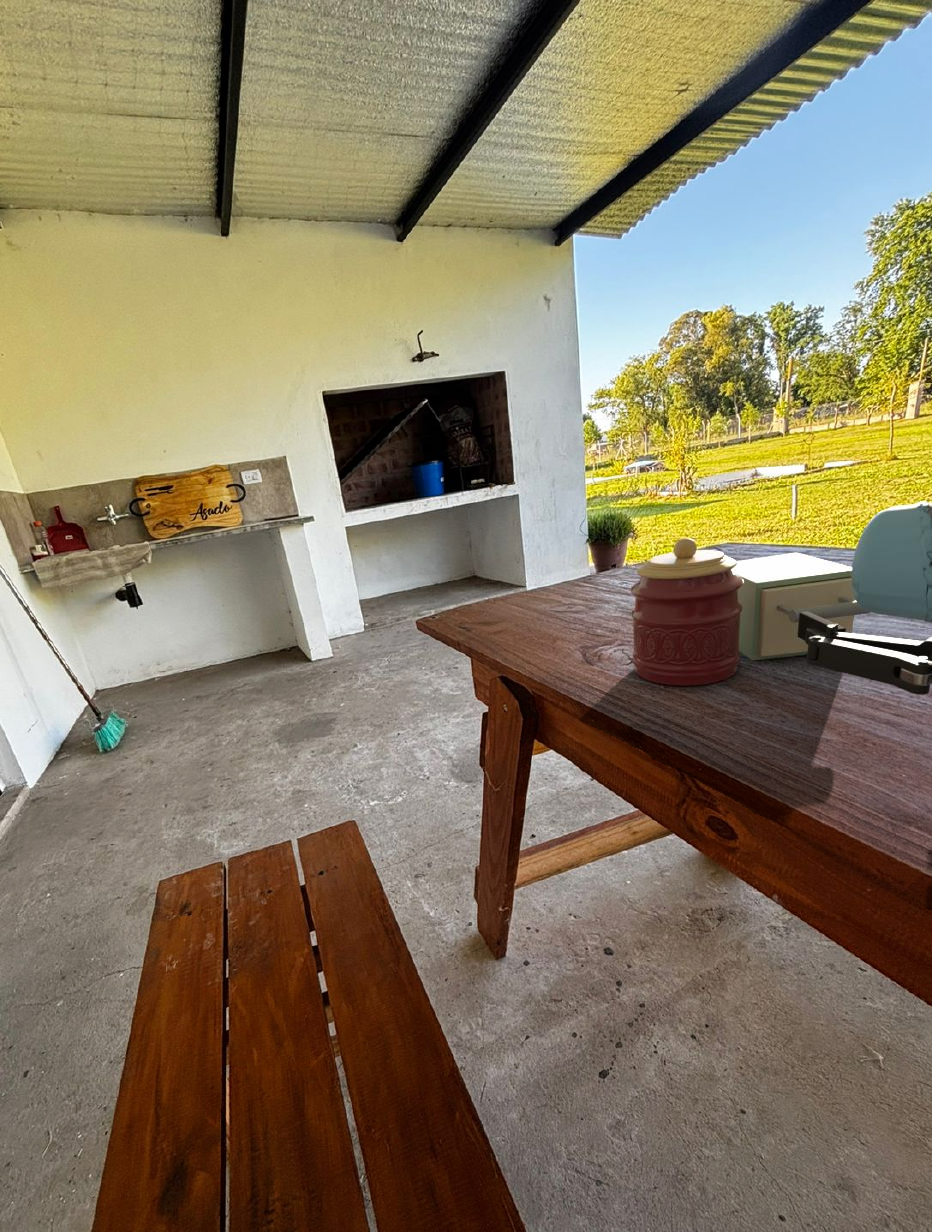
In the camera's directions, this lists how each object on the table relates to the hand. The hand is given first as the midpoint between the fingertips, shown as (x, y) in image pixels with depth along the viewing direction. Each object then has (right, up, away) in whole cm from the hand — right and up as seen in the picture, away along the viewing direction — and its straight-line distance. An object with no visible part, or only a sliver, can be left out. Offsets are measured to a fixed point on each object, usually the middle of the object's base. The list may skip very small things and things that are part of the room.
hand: (874, 615), depth 54 cm
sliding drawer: (+4, -1, +18) cm, 18 cm away
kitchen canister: (-11, -5, +18) cm, 21 cm away
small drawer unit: (+4, -1, +22) cm, 22 cm away
